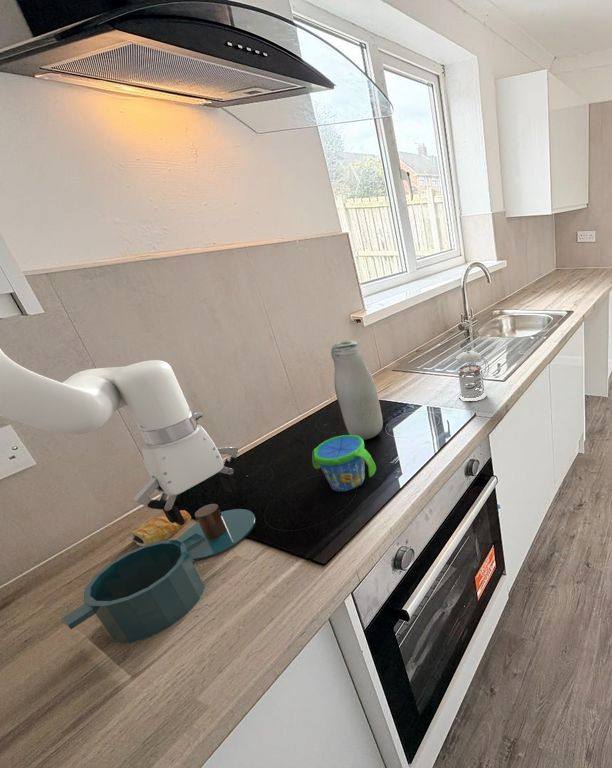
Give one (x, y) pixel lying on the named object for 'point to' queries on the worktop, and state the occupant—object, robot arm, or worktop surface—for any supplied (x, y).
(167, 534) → the pastry
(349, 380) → the glass bottle
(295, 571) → the worktop surface
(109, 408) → the robot arm
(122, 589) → the pot
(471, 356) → the french press
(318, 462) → the snack cup
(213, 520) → the lid
